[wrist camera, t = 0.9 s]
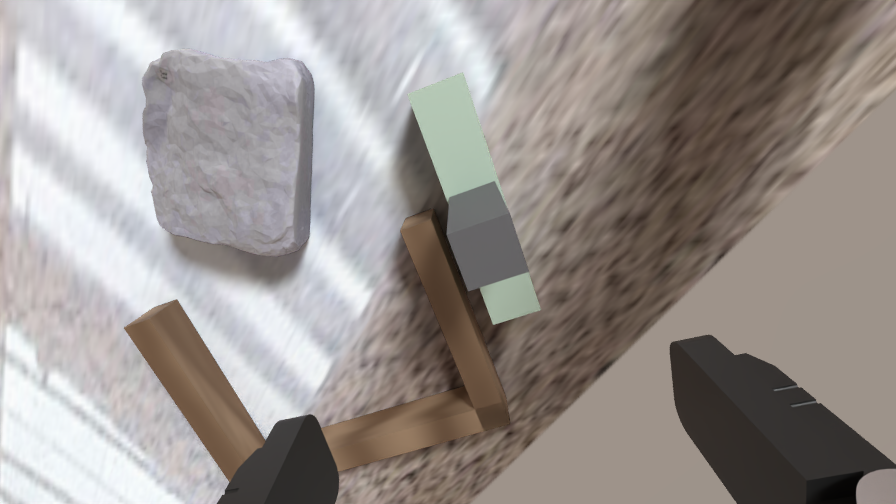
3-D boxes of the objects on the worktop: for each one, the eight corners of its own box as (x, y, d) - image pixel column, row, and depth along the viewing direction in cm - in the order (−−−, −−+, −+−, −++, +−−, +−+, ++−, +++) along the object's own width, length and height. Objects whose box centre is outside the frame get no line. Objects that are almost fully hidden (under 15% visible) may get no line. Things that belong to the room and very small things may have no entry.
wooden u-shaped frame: (433, 208, 29) (430, 220, 26) (506, 396, 34) (510, 423, 31) (153, 307, 32) (123, 327, 29) (257, 467, 37) (240, 498, 34)
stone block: (197, 224, 32) (322, 249, 30) (139, 240, 27) (283, 270, 25) (188, 48, 28) (330, 64, 26) (120, 32, 24) (285, 51, 22)
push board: (416, 95, 27) (385, 91, 15) (461, 77, 26) (465, 60, 15) (487, 290, 31) (505, 400, 20) (528, 277, 30) (569, 382, 19)
